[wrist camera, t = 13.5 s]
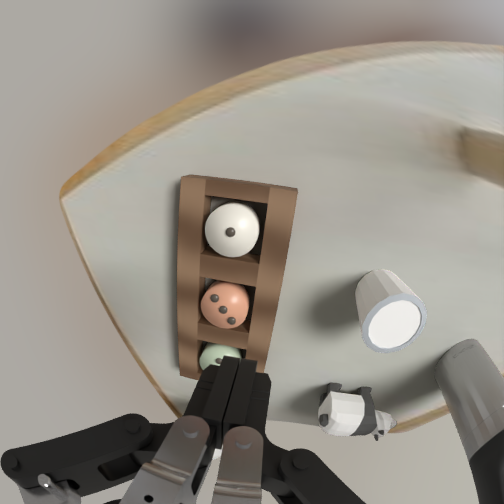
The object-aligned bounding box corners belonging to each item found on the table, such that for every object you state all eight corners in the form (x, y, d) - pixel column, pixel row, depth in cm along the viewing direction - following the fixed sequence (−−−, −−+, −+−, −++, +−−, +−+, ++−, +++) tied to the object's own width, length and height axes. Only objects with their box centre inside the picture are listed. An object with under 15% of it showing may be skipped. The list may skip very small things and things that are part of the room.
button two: (240, 371, 34) (237, 383, 32) (203, 363, 35) (199, 375, 33) (244, 343, 33) (240, 356, 30) (204, 335, 33) (199, 347, 31)
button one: (256, 253, 28) (253, 261, 26) (209, 245, 29) (202, 253, 27) (263, 205, 27) (260, 209, 24) (213, 198, 27) (206, 202, 25)
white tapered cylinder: (337, 291, 30) (347, 327, 23) (384, 251, 27) (407, 279, 21) (370, 326, 31) (384, 364, 24) (414, 290, 28) (437, 323, 22)
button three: (247, 321, 31) (244, 333, 29) (205, 313, 32) (199, 324, 30) (252, 283, 30) (249, 294, 27) (207, 275, 30) (201, 285, 28)
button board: (261, 380, 36) (258, 392, 33) (185, 364, 37) (180, 375, 34) (297, 188, 26) (297, 191, 24) (190, 174, 27) (181, 176, 25)
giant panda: (312, 398, 36) (312, 442, 29) (324, 378, 34) (328, 424, 27) (381, 407, 35) (389, 445, 28) (396, 388, 34) (408, 428, 26)
